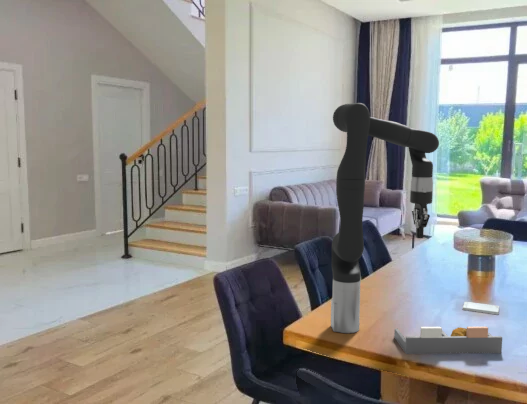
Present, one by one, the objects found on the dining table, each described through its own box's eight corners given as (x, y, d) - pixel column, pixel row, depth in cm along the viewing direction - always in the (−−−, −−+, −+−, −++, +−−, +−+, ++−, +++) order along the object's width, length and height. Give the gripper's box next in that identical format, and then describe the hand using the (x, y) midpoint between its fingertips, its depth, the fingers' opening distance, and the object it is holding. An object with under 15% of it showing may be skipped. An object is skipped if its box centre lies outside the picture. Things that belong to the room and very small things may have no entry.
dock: (406, 354, 157) (407, 328, 156) (394, 337, 170) (395, 313, 169) (501, 353, 157) (503, 327, 156) (482, 336, 170) (483, 313, 169)
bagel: (451, 350, 159) (452, 335, 159) (448, 338, 170) (449, 323, 170) (486, 354, 157) (487, 339, 156) (481, 341, 168) (482, 327, 167)
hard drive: (499, 305, 199) (464, 300, 204) (498, 312, 192) (462, 306, 197) (499, 309, 199) (464, 304, 205) (498, 316, 192) (462, 311, 197)
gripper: (405, 187, 191) (403, 234, 193) (416, 191, 177) (414, 241, 180) (425, 187, 191) (423, 234, 193) (438, 191, 178) (436, 241, 180)
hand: (419, 237), depth 186 cm, fingers closed
